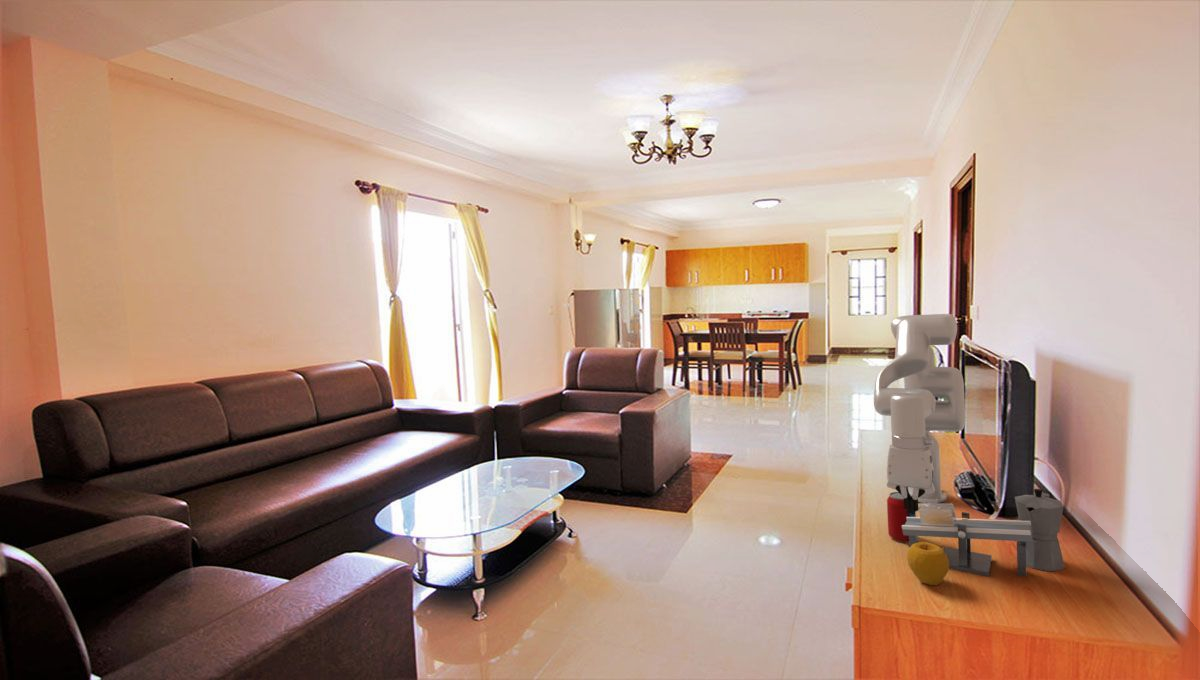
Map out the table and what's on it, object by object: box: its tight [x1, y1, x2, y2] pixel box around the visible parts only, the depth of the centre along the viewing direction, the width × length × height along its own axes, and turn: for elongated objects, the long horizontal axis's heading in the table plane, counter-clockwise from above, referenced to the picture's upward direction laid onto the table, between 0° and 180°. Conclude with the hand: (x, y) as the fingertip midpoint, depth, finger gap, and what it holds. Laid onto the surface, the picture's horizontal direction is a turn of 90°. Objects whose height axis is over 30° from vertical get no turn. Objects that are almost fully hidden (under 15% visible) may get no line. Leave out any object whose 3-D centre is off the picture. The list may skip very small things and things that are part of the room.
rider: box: [918, 502, 957, 527], centre depth 136 cm, size 4×7×5 cm, turn 51°
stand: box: [908, 511, 1027, 578], centre depth 133 cm, size 11×24×11 cm, turn 51°
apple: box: [906, 541, 950, 586], centre depth 126 cm, size 8×8×9 cm
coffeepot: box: [1014, 488, 1066, 572], centre depth 131 cm, size 15×9×18 cm, turn 127°
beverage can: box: [886, 491, 917, 543], centre depth 149 cm, size 7×7×12 cm
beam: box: [902, 516, 1033, 542], centre depth 133 cm, size 7×26×2 cm, turn 51°
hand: (911, 512), depth 140 cm, fingers closed
